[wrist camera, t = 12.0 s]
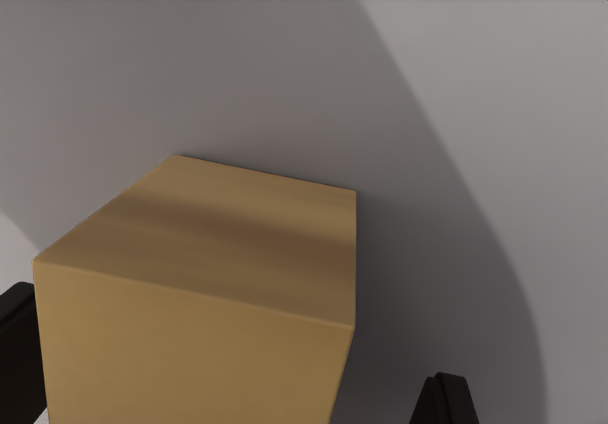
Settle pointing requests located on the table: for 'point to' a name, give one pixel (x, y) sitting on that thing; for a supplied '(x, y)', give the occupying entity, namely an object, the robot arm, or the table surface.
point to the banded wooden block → (201, 301)
